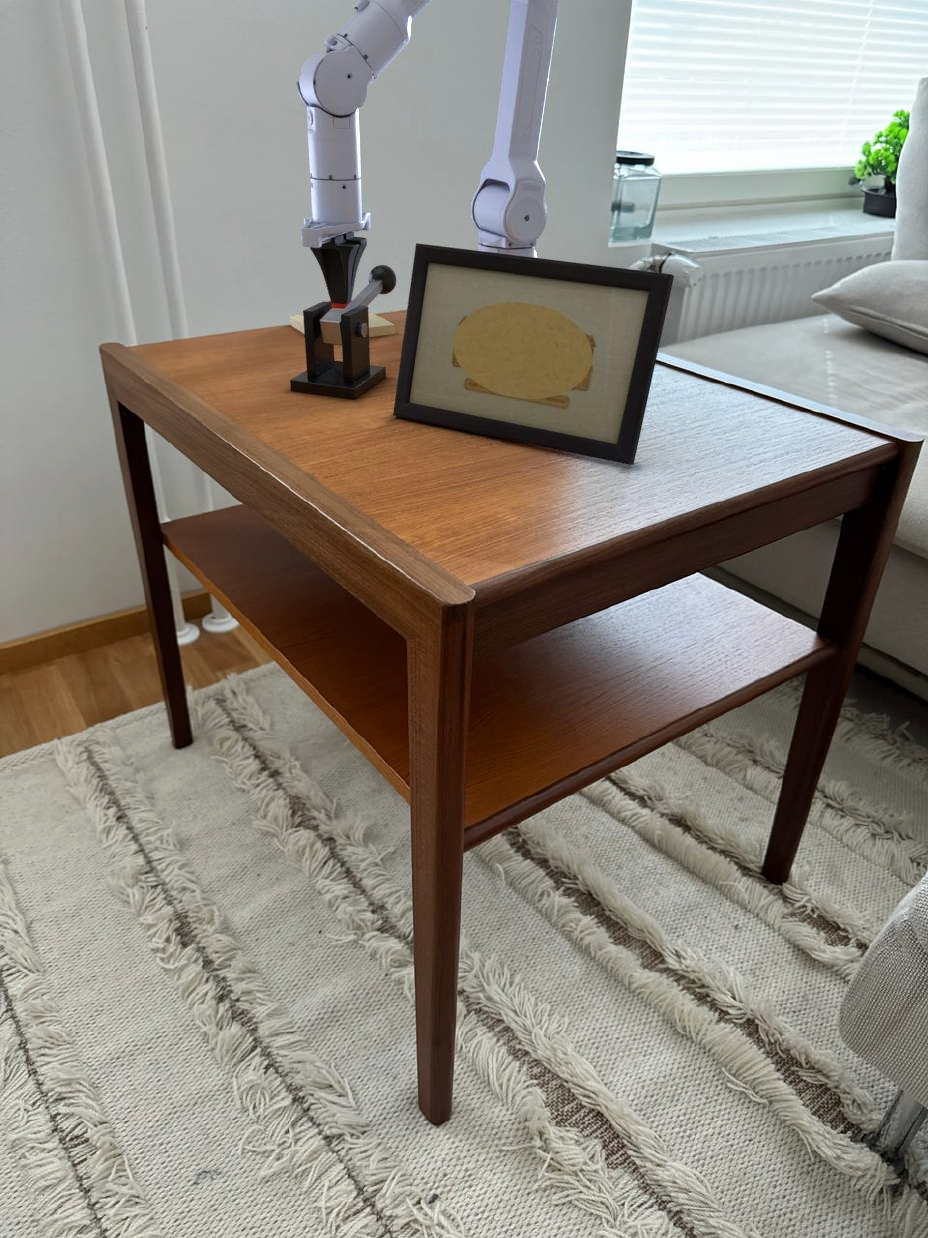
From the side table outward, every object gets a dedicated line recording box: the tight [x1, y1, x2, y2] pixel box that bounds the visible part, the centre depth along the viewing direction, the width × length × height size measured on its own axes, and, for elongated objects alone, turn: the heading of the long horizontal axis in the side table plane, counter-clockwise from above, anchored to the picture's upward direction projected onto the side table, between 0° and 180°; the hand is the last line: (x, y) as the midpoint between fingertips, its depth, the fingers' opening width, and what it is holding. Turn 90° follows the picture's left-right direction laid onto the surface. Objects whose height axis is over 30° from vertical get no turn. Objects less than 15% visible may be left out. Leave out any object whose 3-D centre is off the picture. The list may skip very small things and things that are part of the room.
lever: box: [320, 264, 397, 346], centre depth 93 cm, size 15×3×3 cm, turn 162°
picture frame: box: [392, 242, 675, 466], centre depth 79 cm, size 23×9×15 cm, turn 62°
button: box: [328, 301, 350, 309], centre depth 109 cm, size 3×3×2 cm
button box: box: [289, 299, 396, 338], centre depth 109 cm, size 10×9×3 cm
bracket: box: [289, 300, 387, 401], centre depth 89 cm, size 8×7×8 cm
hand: (341, 302), depth 108 cm, fingers closed, pressing on button
